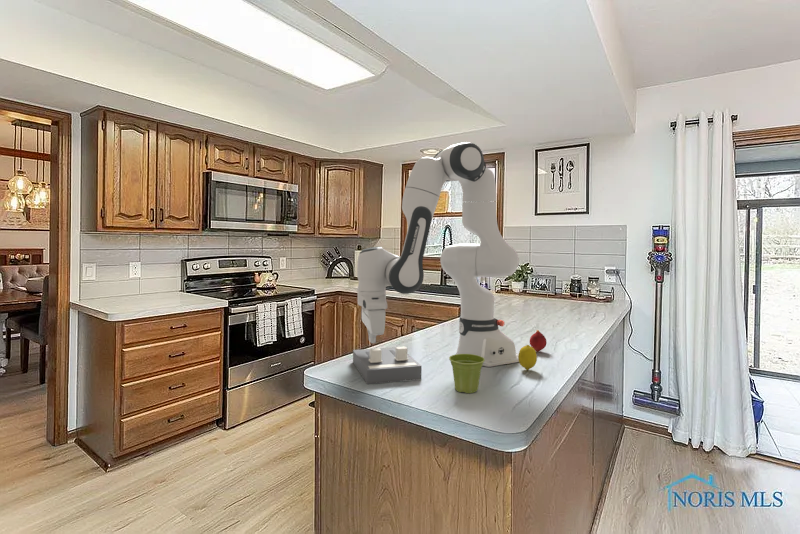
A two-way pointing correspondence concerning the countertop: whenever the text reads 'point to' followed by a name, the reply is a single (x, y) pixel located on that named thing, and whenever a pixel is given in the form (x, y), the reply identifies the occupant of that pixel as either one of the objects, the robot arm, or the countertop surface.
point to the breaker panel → (386, 367)
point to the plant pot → (466, 371)
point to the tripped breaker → (375, 355)
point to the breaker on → (401, 354)
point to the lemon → (527, 357)
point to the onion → (538, 341)
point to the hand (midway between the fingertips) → (372, 342)
